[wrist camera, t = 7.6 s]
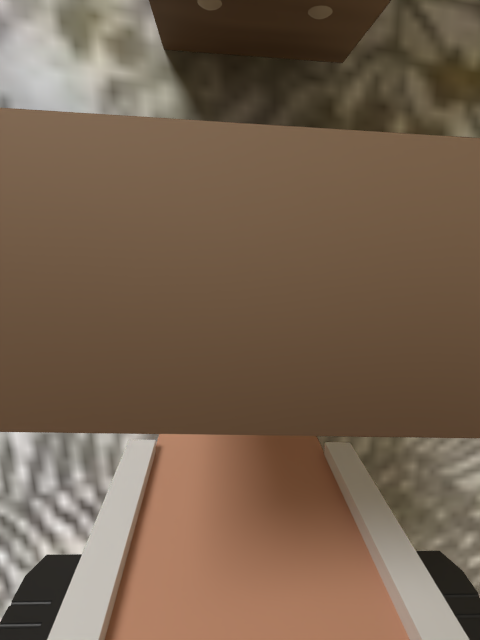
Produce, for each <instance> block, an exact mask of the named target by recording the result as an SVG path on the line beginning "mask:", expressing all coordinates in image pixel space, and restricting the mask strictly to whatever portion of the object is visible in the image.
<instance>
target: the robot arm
mask: <svg viewBox="0 0 480 640" xmlns="http://www.w3.org/2000/svg"><path fill="white" fill-rule="evenodd" d="M155 453H156V440H129V441H128V443H127V446H126V448H125V451H124V453H123V455H122V458H121V460H120V463H119V465H118V468H117V470H116V473H115V475H114V477H113V480H112V482H111V485H110V487H109V490H108V492H107V495H106V497H105V499H104V502H103V504H102V507H101V509H100V512H99V514H98V517H97V519H96V521H95V524H94V526H93V529H92V531H91V534H90V536H89V539H88V541H87V543H86V546H85V548H84V551H83V553H82V555H46V556H45V557H44V558H43V559H42V560H41V561H40V562H39V563H38V564H37V565H36V566H35V567H34V568H33V569H32V570H31V571H30V572H29V573H28V574H27V575H26V576H25V578H24V580H23V581H22V583H21V585H20V587H19V589H18V591H17V592H16V594H15V596H14V598H13V600H12V603H11V606H9V607H8V609H7V611H6V613H5V614H4V616H3V618H2V620H1V622H0V640H105V637H106V633H107V629H108V626H109V622H110V618H111V615H112V611H113V607H114V604H115V600H116V596H117V592H118V589H119V585H120V581H121V578H122V574H123V570H124V567H125V563H126V559H127V556H128V552H129V548H130V545H131V541H132V537H133V534H134V530H135V526H136V523H137V519H138V515H139V511H140V508H141V504H142V500H143V497H144V493H145V489H146V486H147V482H148V478H149V475H150V471H151V467H152V464H153V460H154V456H155ZM324 455H325V458H326V460H327V462H328V464H329V466H330V468H331V470H332V473H333V475H334V477H335V479H336V481H337V483H338V486H339V488H340V490H341V492H342V494H343V496H344V499H345V501H346V503H347V505H348V507H349V509H350V511H351V514H352V516H353V518H354V520H355V522H356V524H357V527H358V529H359V531H360V533H361V535H362V537H363V540H364V542H365V544H366V546H367V548H368V550H369V553H370V555H371V557H372V559H373V561H374V563H375V565H376V568H377V570H378V572H379V574H380V576H381V578H382V581H383V583H384V585H385V587H386V589H387V591H388V594H389V596H390V598H391V600H392V602H393V604H394V606H395V609H396V611H397V613H398V615H399V617H400V619H401V622H402V624H403V626H404V628H405V630H406V632H407V635H408V637H409V639H410V640H480V598H479V596H478V592H477V591H476V589H475V588H474V587H473V585H472V584H471V582H470V581H469V580H468V578H467V577H466V575H465V574H464V572H463V571H462V570H461V569H460V568H459V567H458V566H456V565H455V564H454V563H453V562H452V561H451V560H449V559H448V558H447V557H446V556H445V555H444V554H442V553H441V552H440V551H416V550H415V549H414V547H413V546H412V544H411V542H410V541H409V539H408V537H407V536H406V534H405V532H404V531H403V529H402V527H401V526H400V524H399V522H398V521H397V519H396V517H395V516H394V514H393V512H392V511H391V509H390V508H389V506H388V504H387V503H386V501H385V499H384V498H383V496H382V494H381V493H380V491H379V489H378V488H377V486H376V484H375V483H374V481H373V479H372V478H371V476H370V474H369V473H368V471H367V469H366V468H365V466H364V465H363V463H362V461H361V460H360V458H359V456H358V455H357V453H356V451H355V450H354V448H353V446H352V445H351V443H350V442H325V448H324Z"/></svg>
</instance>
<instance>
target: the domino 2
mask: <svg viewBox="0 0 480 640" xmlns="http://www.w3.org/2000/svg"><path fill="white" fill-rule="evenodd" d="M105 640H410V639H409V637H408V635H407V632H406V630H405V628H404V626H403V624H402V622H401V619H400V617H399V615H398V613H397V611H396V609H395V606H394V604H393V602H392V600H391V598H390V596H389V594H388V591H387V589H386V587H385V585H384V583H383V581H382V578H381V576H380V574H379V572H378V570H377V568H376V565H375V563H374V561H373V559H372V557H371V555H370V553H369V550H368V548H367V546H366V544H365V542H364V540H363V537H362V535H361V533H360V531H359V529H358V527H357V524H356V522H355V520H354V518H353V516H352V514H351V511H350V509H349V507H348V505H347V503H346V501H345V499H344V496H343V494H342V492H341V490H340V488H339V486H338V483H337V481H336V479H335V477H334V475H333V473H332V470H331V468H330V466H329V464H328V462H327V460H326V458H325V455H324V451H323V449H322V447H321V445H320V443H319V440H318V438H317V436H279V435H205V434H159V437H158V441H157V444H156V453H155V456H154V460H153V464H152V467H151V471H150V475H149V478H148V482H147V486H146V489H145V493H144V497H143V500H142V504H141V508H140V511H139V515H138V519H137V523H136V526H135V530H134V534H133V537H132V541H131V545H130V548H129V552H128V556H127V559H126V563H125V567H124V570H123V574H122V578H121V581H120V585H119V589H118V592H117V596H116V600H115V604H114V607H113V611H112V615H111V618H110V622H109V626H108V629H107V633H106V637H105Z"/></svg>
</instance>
